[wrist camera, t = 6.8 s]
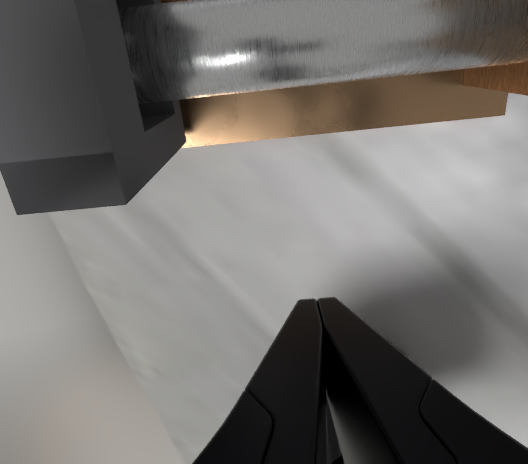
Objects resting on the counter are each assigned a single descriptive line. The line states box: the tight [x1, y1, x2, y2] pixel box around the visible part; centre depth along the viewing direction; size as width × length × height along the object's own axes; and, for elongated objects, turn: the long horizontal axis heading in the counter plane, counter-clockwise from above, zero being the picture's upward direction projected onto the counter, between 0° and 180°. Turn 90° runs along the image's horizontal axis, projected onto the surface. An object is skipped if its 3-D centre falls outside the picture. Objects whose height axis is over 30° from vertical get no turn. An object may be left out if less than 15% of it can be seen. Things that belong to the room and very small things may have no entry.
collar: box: [0, 0, 187, 215], centre depth 13 cm, size 3×7×8 cm, turn 6°
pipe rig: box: [118, 0, 528, 148], centre depth 15 cm, size 22×8×7 cm, turn 96°
